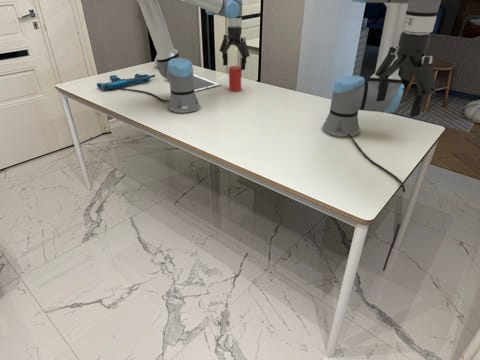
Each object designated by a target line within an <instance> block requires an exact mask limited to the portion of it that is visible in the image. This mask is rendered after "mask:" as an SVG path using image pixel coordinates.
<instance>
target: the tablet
mask: <svg viewBox="0 0 480 360" xmlns="http://www.w3.org/2000/svg"><path fill="white" fill-rule="evenodd" d="M193 79H194V92H195V93H197V92H199V91H204V90H207V89H211V88H215V87H219V86H222V84H221V83H218V82H216V81H213V80H210V79H208V78H205V77H202V76H200V75H197V74H195V73H193ZM164 81H165V82H166V81H167V82H169V81H168V80H167V79H166V78H164Z"/></svg>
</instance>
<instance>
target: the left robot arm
mask: <svg viewBox="0 0 480 360" xmlns="http://www.w3.org/2000/svg"><path fill="white" fill-rule="evenodd" d="M135 1H136V2H137V3H138V5H139V8H140V10H141V13H142V15H143V19H144V21H145V24H146V27H147V29H148V32H149V35H150V38H151V40H152V43H153V46H154V48H155V52H156V56H155V59H156V60H157V63H158V68H157V70H158V73H159V74H160V76H162V77H163V78H164V79H167V80H168V81H167V82H168V83H169V89H170V96H169V97H170V98H169V99H162V98H161V97H159V96H158V95H155V94H154V93H151V92H149V91H144V90H139V89H132V88H125V87H117V88H116V89H115V90H123V91H129V92H130V91H131V92H138V93H144V94H147V95H150V96H152V97H155V98H156V99H158V100H160V102H168V110H169V111H170V112H172V113H175V114H188V113H193V112H196V111H198V110H199V108H200V103H199V100H198V98H197V95H196V92H194V79H193V74H194V67H193V63H192V61H191V60H189V59H187V58H184V57H180V53H179V50H178V49H176V48H174V44H173V41H172V39H171V35H170V33H169V29H168V27H167V24H166V21H165V18H164V15H163V12H162V9H161V6H160V3H159V0H135ZM180 1H182V2H185V3H187V4H189V5H191V6H195V7H197V8H201V9H202V10H205V13H206V14H207V15H208V16H220V17H224V18H226V19H227V24H226V25H227V27H226V29H227V34H224V35H223V39H222V42H221V44H220V47H219V52H221V55H222V66H223V67H225V66H227V65H228V50H229V49H230V47H231V46H235V47H236V48H237V49H238V51H239V53H240V55H241V58H240V67H241V71H244V70H246V64H247V58H249V57H250V56H251V54H250V51H249V48H248V45H247V39H246V37H244V36H243V37H242V32H243V31H242V30H243V28H242V24H243V23H242V22H243V0H180Z"/></svg>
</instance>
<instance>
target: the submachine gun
mask: <svg viewBox="0 0 480 360" xmlns="http://www.w3.org/2000/svg"><path fill="white" fill-rule="evenodd" d="M152 78H156V74H152V75H149V74H146V73H145V74H140V73H135V74H134V77H130V78H121V77H118V75H116V74H114V75H109V79H110V80H111V81H110V82H103V83H102V82H96V87H97V88H99V89H100V90H101V91H105V90H112V89H113V90H117V89H116V88H122V87H126V86H130V85H135V84H140V83H145V82H146V83H147V82H149V81H150V80H151V79H152Z"/></svg>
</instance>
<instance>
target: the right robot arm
mask: <svg viewBox="0 0 480 360" xmlns="http://www.w3.org/2000/svg"><path fill="white" fill-rule="evenodd" d="M350 1H351V2H352V3H360V4H363V3H372V4H373V3H378V4H379V3H381V4H384V5H385V7H386V11H385V17H384V22H383V28H382V33H381V37H380V43H379V44H380V45H379V50H378V53H377V54H378V55H377V60H376V66H375V71H374V73H373V74H372V75H371V76H370V77H369V81H367V80H366V79H365V77H363V76H361V75H345V76H341V77H339V78H337V79H336V80H335V81H334V83H333V88H332V96H331V101H330V107H329V112H328V115H327V117H326V118H325V121H324V123H323V126H322V130H323V132H324V133H325V134H326V135H329V136H332V137H335V138H339V139H341V138H342V139H349V138H350V139H351V141H352V142H353V144H354V145H355V146H356V148H357V149H358V151H359V152H360V153H361V154H362V155H363V156H364V158H366V159H367V160H368V161H369V162H370V163H371V164H372V165H374V166H376V167H378V168H379V169H381V171H384V172H385V173H387V174H388V175H390V176H391V177H393V178H394V179H395V180H396V181H397V182H398V183H399V184H400V186H401V188H402V192H403V193H406V187H405V185H404V182H403V181H402V180H401V179H399V177H397V176H396V175H395V174H394V173H392V172H390V171H389V170H387V169H386V168H384V167H383V166H381V165H380V164H378V163H376V162H375V161H373V160H372V159H371V158H370V157H368V155H366V154H365V152H364V151H363V150H362V148H361V147H360V146H359V144H358V143H357V142H356V140H355V138H354V137H356V136H357V135H359V132H360V125H359V118H358V117H359V116H358V114H359V111H365V112H377V113H387V114H388V113H394V112H395V111H396V110H397V109H398V108H399V105H400V103H401V101H402V98H403V95H404V90H405V84H404V83H402V82H401V81H402V78H401V77H400V75H399V72H400V68H405V69H406V70H410V73H412V75H413V80H414V82H415V85H416V88H417V91H418V93H416V94H415V96H414V100H413V103H412V107H411V110H410V113H409V117H410V118H414V117H419V116H420V113H421V110H422V107H423V106H424V105H426V100H427V97H428V95H434V94H436V92H437V90H436V80H435V68H434V63H435V58H436V57H435V56H434V55H426V51H427V49H428V48H429V45H430V41H431V37H432V35H431V33H432V32H433V31H434V28H435V24H436V21H437V17H438V13H439V9H440V5H441V2H442V0H350ZM400 226H401V223H398V224H397V226H396V229H395V232H394V236H393V239H392V242H391V245H390V247H389V250H388V253H387V256H386V259H385V262H384V264H383V268H382V271H383V272H385V271H386V268H387V265H388V261H389V260H390V256H391V252H392V250H393V248H394V244H395V242H396V239H397V237H398V233H399V229H400Z"/></svg>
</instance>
